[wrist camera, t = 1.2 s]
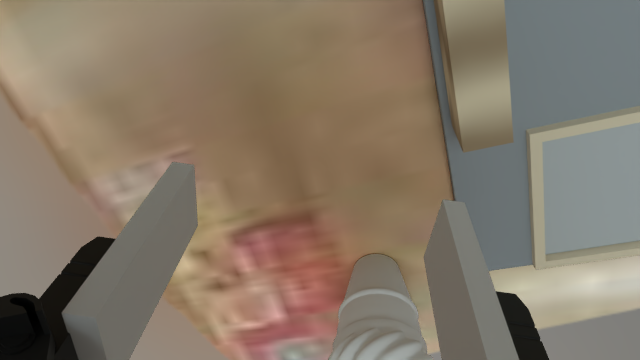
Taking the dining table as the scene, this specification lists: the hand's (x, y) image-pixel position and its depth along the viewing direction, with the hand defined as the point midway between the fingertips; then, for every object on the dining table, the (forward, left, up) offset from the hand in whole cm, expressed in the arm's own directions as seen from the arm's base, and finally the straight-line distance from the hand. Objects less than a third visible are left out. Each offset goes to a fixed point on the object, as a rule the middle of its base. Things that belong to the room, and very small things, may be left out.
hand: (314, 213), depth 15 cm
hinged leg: (-1, +8, -16) cm, 18 cm away
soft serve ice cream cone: (+20, -2, -18) cm, 27 cm away
